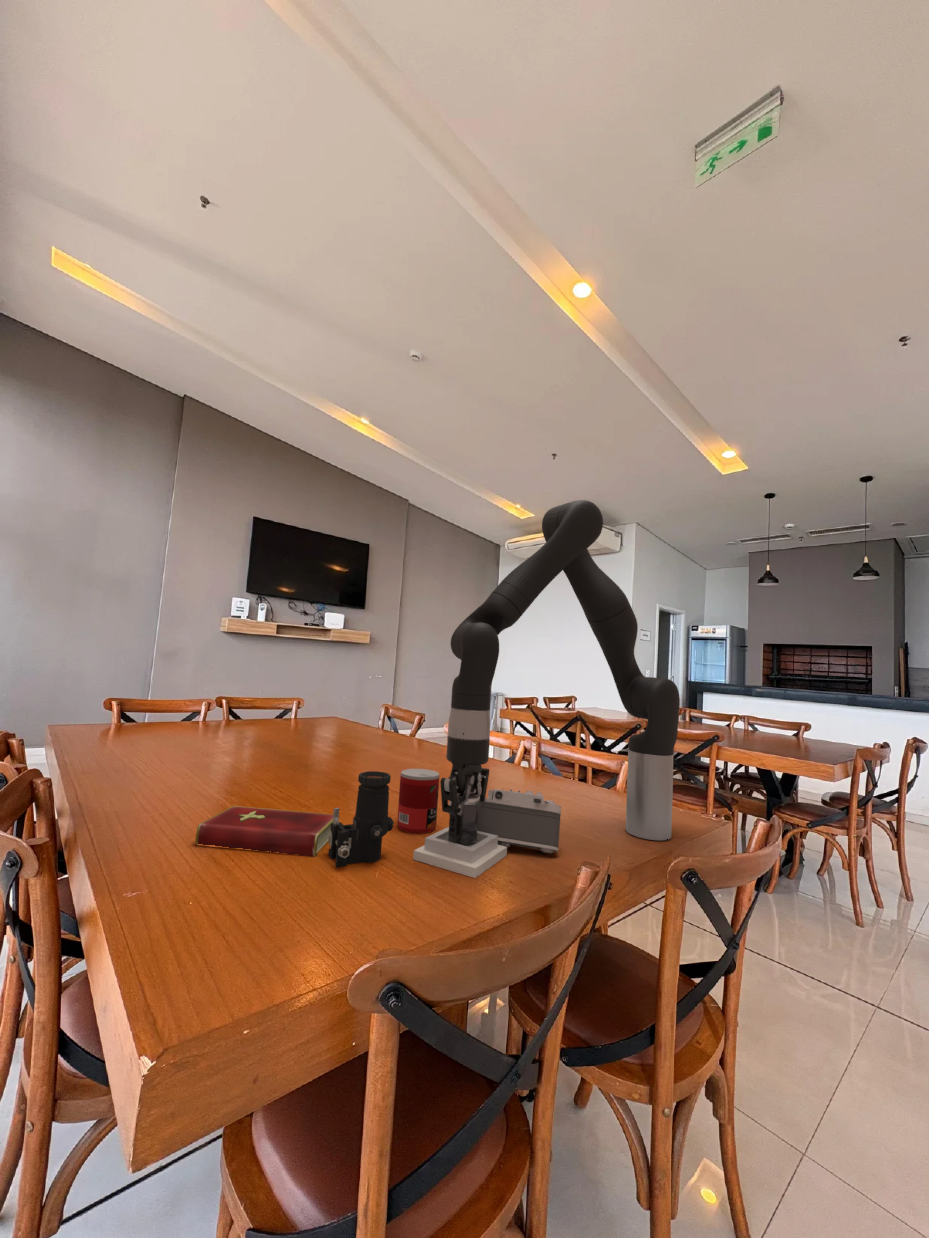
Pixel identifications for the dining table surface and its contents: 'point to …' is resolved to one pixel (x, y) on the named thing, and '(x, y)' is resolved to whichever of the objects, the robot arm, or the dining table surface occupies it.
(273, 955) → the dining table surface
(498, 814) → the camera
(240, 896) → the dining table surface
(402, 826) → the canned food
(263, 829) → the hardcover book
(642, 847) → the dining table surface
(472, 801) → the lens
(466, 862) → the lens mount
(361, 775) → the scope
